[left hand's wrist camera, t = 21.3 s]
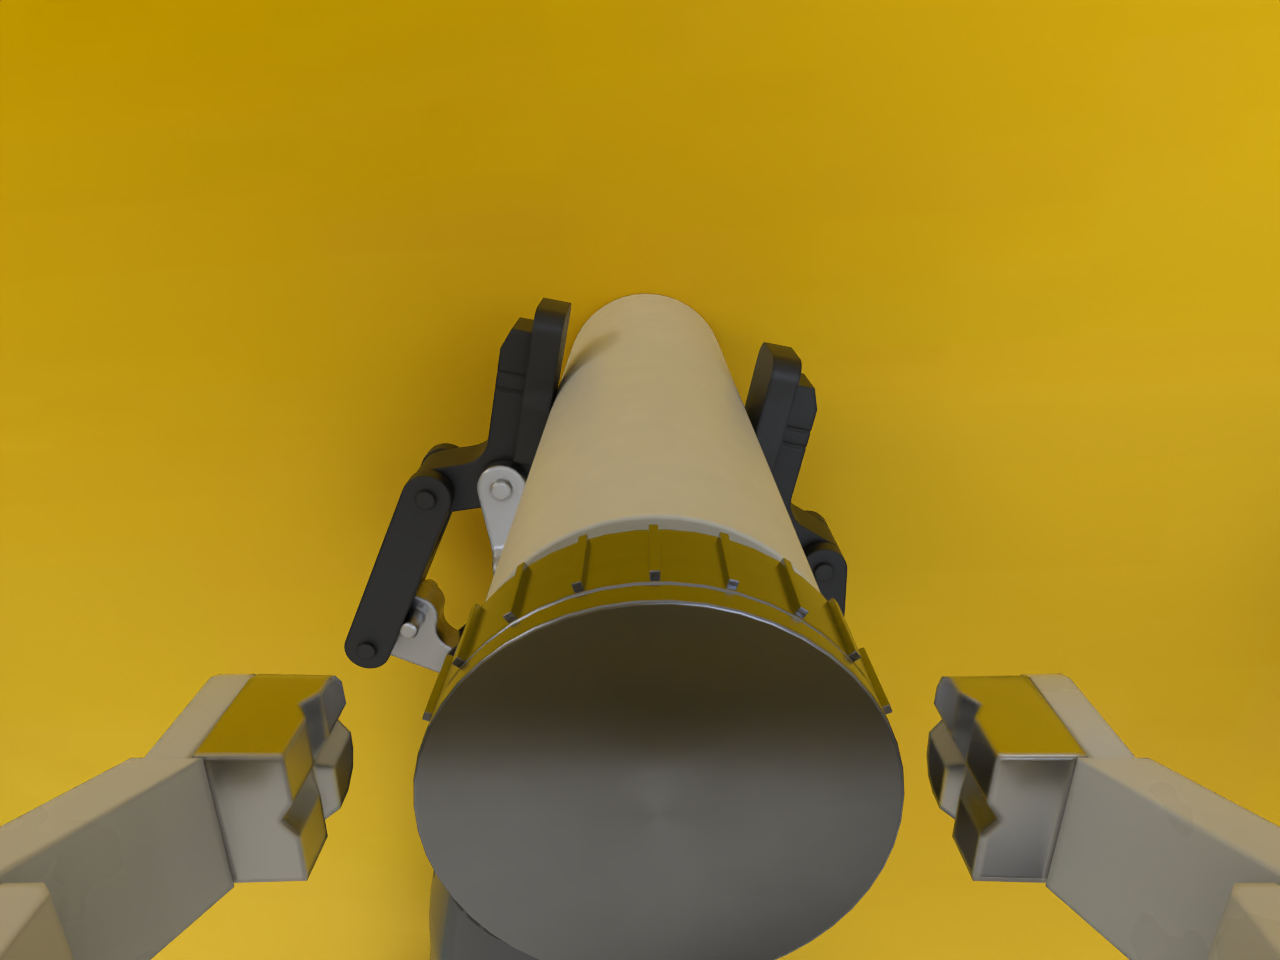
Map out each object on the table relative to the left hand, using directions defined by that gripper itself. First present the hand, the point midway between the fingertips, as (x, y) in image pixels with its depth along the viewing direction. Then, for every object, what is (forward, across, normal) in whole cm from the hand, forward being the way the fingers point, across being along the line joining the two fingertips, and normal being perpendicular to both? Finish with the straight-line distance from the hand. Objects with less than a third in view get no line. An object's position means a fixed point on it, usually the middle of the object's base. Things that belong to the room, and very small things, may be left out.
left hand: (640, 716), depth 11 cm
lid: (-2, 0, 0) cm, 2 cm away
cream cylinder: (+17, 0, 0) cm, 17 cm away
